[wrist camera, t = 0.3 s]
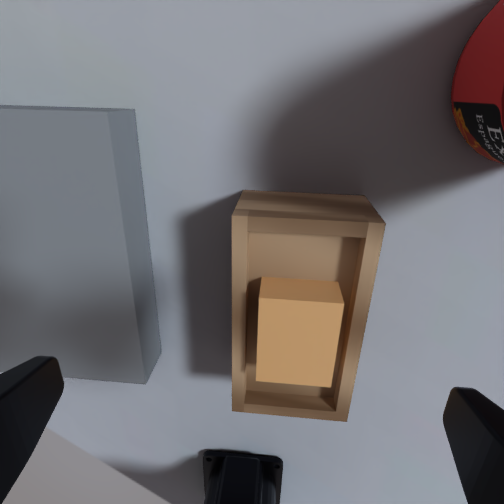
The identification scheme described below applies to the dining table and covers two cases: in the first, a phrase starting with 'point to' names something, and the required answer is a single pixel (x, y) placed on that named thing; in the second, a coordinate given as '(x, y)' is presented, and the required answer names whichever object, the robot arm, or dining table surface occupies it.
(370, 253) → the shallow cardboard tray
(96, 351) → the dock
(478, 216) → the dining table surface
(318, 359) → the block
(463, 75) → the canned food
